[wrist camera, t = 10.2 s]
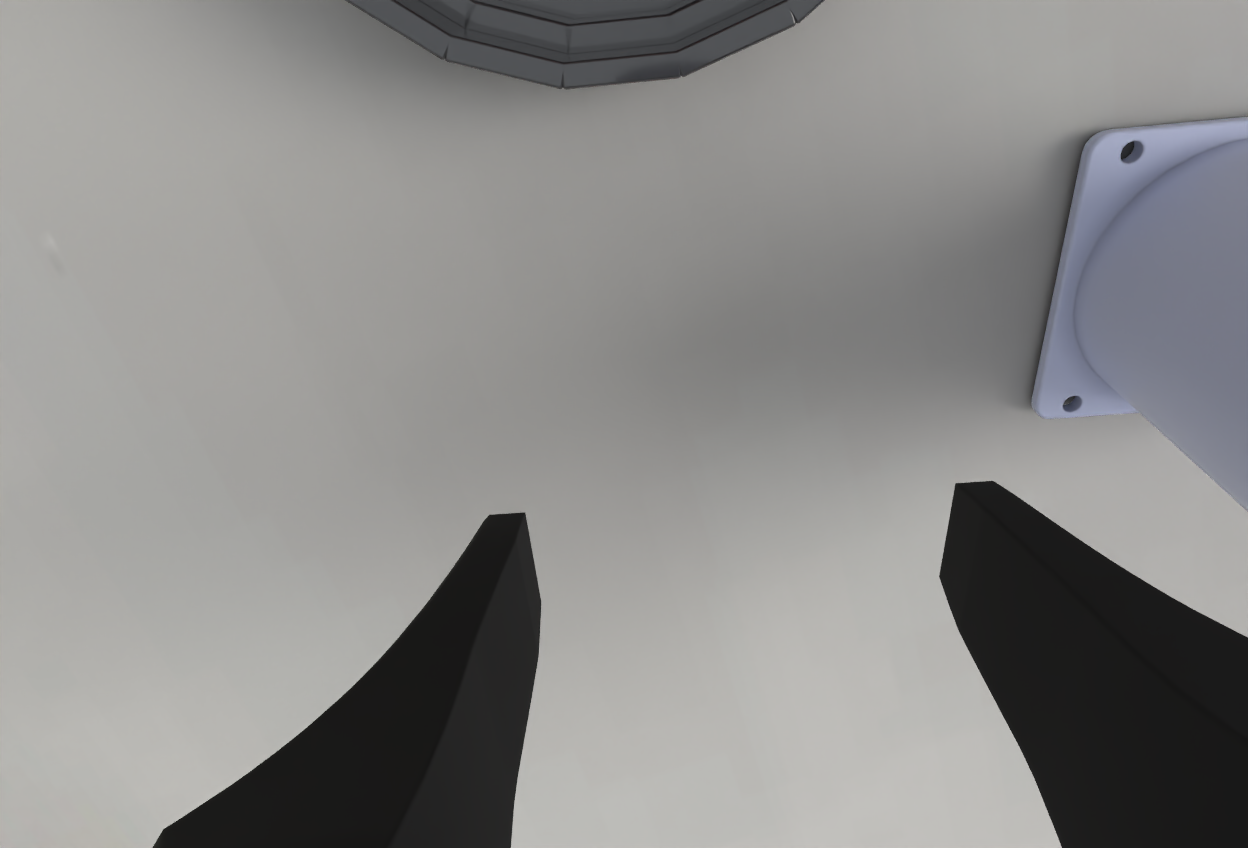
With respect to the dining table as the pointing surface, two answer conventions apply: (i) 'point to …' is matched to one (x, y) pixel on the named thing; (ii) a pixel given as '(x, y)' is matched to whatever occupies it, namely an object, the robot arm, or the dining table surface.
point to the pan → (587, 35)
